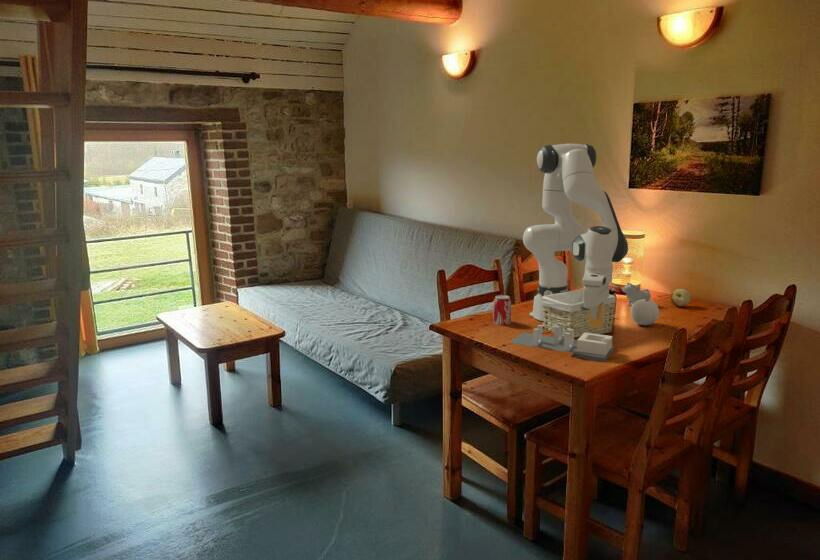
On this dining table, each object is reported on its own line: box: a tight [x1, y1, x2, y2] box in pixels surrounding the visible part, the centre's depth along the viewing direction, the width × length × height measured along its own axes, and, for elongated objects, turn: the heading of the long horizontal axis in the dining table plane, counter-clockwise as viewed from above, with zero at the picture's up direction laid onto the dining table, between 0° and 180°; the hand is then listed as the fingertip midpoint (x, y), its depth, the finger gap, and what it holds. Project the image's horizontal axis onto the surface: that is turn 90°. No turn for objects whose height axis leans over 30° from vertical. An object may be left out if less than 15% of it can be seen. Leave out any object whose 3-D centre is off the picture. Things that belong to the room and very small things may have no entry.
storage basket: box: [542, 288, 617, 339], centre depth 227 cm, size 24×16×15 cm
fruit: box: [670, 288, 692, 308], centre depth 263 cm, size 8×8×8 cm
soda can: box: [492, 294, 512, 326], centre depth 238 cm, size 7×7×12 cm
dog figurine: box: [621, 282, 652, 309], centre depth 264 cm, size 5×13×11 cm, turn 95°
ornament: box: [630, 296, 660, 327], centre depth 236 cm, size 10×10×12 cm
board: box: [509, 323, 615, 363], centre depth 211 cm, size 14×33×8 cm, turn 60°
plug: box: [581, 302, 604, 329], centre depth 204 cm, size 4×7×8 cm, turn 60°
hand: (596, 316), depth 203 cm, fingers closed on plug, 4 cm apart
